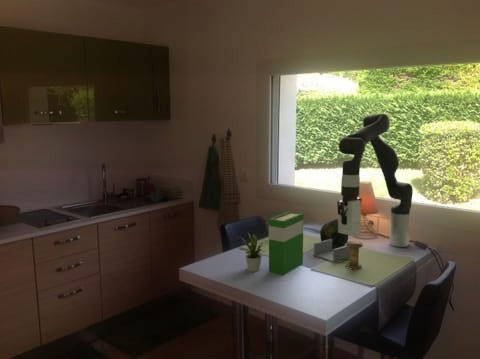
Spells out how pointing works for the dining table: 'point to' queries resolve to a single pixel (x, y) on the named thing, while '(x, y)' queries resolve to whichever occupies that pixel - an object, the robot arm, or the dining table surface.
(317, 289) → the dining table surface
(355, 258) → the bobbin
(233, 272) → the dining table surface
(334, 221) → the squash
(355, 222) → the skincare box
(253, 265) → the house plant
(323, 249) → the notch cradle
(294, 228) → the hardback book
